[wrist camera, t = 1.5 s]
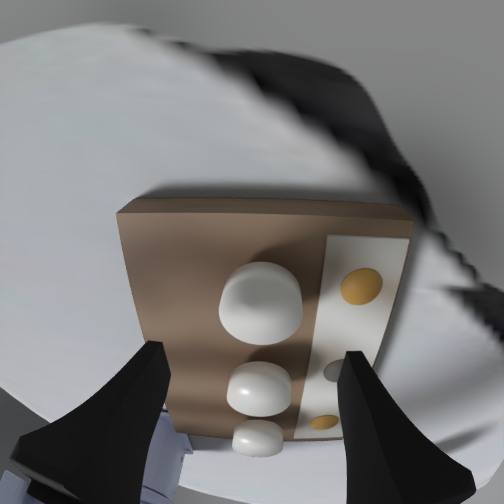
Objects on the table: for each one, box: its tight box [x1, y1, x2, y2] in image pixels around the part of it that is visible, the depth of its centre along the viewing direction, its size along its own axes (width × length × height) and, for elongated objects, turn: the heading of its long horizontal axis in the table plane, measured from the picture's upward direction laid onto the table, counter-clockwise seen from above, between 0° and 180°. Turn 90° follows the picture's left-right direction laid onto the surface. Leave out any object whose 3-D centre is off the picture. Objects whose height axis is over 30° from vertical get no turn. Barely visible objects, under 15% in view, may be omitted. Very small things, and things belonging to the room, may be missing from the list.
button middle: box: [227, 361, 291, 417], centre depth 19 cm, size 4×4×2 cm
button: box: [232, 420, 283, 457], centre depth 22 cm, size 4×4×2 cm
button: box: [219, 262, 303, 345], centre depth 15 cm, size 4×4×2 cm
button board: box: [116, 198, 415, 441], centre depth 21 cm, size 22×16×3 cm
